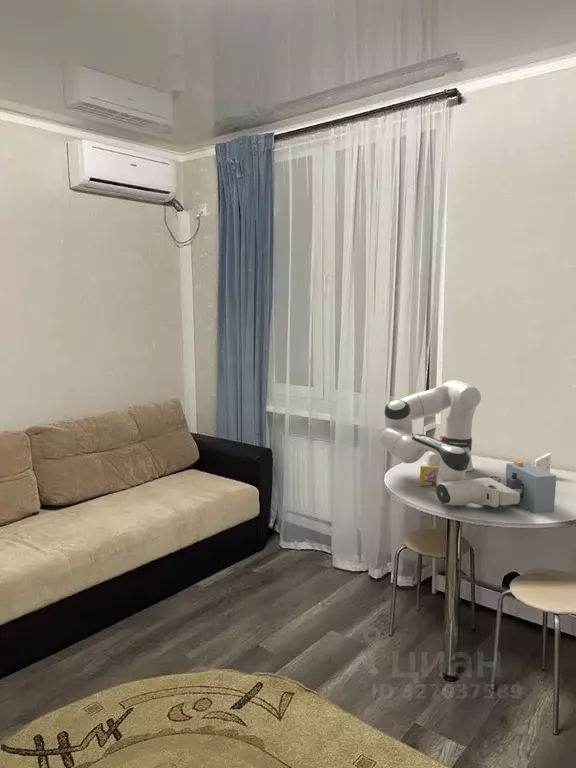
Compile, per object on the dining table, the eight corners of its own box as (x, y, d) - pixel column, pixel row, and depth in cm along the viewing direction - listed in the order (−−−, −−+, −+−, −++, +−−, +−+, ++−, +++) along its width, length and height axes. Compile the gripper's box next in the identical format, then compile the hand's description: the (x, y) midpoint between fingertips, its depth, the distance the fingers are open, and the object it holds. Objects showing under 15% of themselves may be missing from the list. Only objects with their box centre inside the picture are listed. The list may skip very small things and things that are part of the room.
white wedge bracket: (560, 471, 250) (551, 453, 250) (538, 482, 252) (529, 464, 251) (557, 469, 254) (548, 451, 253) (535, 479, 256) (526, 462, 255)
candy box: (420, 487, 235) (421, 467, 234) (419, 485, 237) (419, 465, 236) (460, 486, 236) (461, 466, 235) (458, 485, 238) (459, 465, 237)
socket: (534, 512, 207) (536, 473, 205) (504, 496, 224) (506, 460, 222) (553, 511, 209) (556, 472, 207) (523, 495, 226) (525, 459, 224)
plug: (511, 504, 213) (513, 474, 211) (505, 501, 216) (507, 472, 215) (529, 502, 214) (531, 473, 213) (523, 499, 218) (525, 470, 217)
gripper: (466, 490, 222) (499, 488, 225) (497, 509, 202) (532, 506, 205) (467, 474, 221) (499, 472, 224) (498, 491, 201) (533, 488, 204)
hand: (515, 488), depth 214 cm, fingers closed on plug, 4 cm apart
